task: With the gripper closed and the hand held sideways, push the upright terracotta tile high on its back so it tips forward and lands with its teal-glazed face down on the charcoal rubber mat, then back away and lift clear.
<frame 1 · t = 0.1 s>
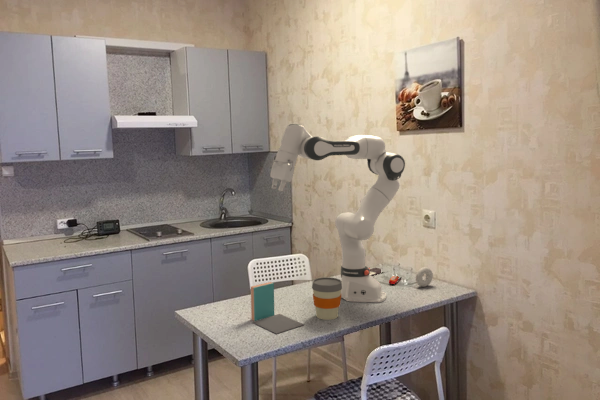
hand: (276, 190, 218), 52 cm above the table, tool tilted 20°, fingers open, 8 cm apart
mat: (278, 324, 202), on the table
donut: (424, 287, 251), on the table
tile: (263, 317, 210), on the table
chocolate bar: (371, 274, 277), on the table
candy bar: (395, 282, 261), on the table
reusable coffee cup: (327, 316, 211), on the table
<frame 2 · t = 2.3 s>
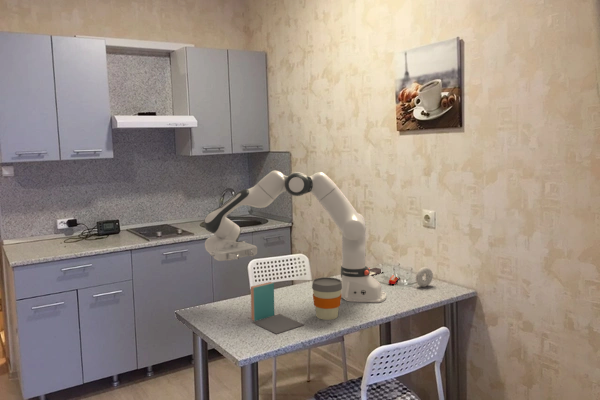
hand: (245, 255, 216), 24 cm above the table, tool horizontal, fingers open, 7 cm apart
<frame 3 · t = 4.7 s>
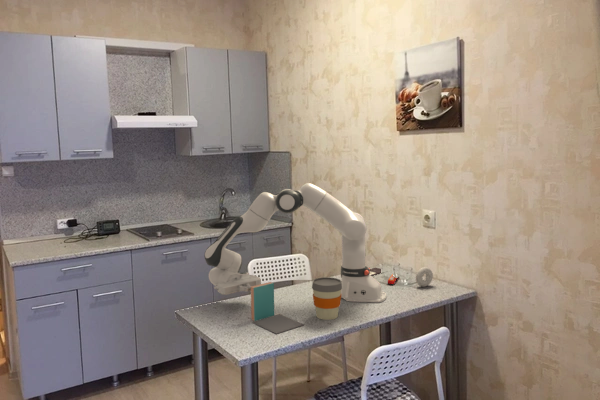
hand: (249, 289, 216), 10 cm above the table, tool horizontal, fingers closed
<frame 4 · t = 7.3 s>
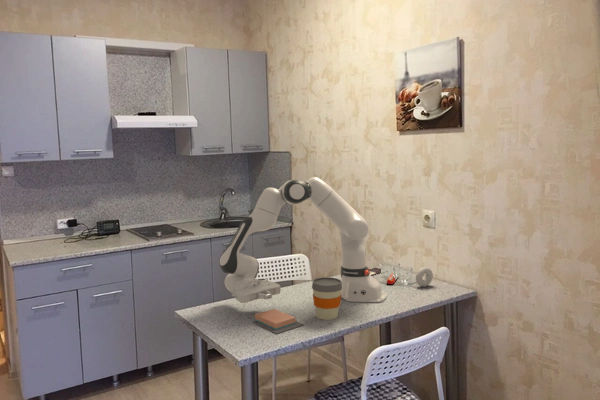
hand: (269, 296, 205), 10 cm above the table, tool horizontal, fingers closed
tile: (264, 314, 209), point 2 cm above the table, tilted 90°, touching mat
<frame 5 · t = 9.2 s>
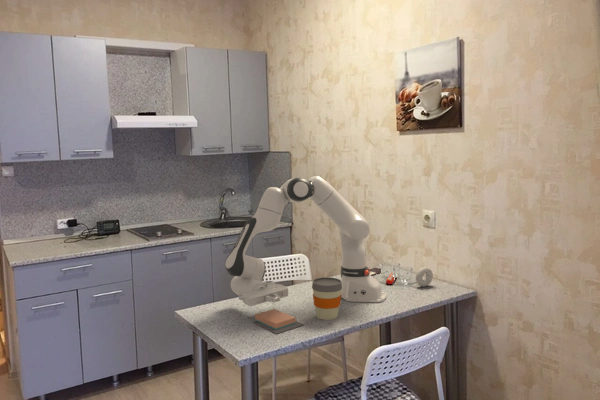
hand: (277, 299, 201), 10 cm above the table, tool horizontal, fingers closed
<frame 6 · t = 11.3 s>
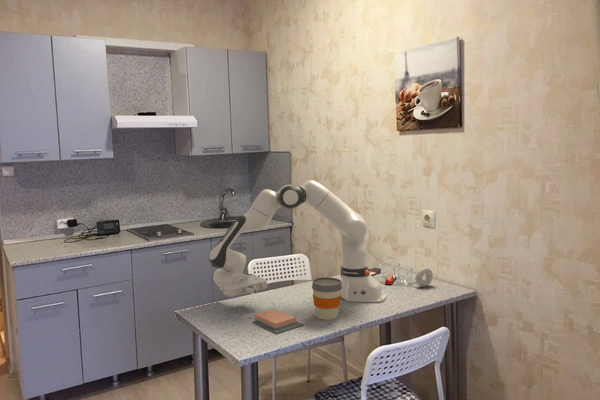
hand: (255, 291, 212), 10 cm above the table, tool horizontal, fingers closed
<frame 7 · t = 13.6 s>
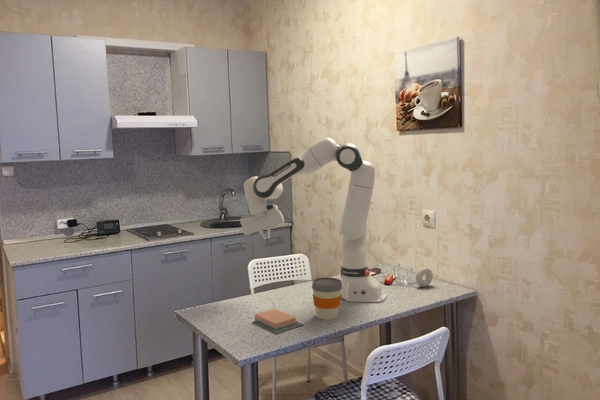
hand: (267, 238, 235), 28 cm above the table, tool tilted 25°, fingers closed
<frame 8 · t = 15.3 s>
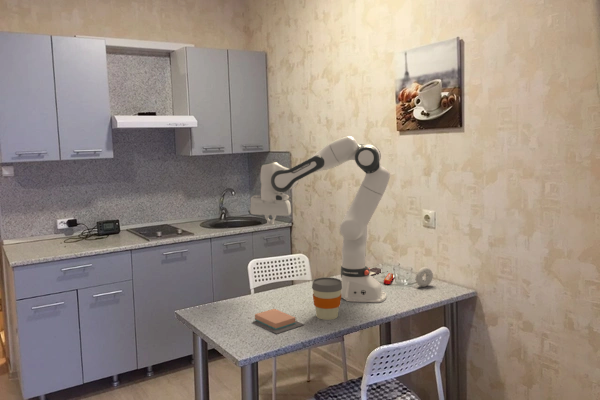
hand: (270, 224, 242), 33 cm above the table, tool pointing down, fingers closed
at the end: tile tilted 90°; tile touching mat; tile moved 2.1 cm from its start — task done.
